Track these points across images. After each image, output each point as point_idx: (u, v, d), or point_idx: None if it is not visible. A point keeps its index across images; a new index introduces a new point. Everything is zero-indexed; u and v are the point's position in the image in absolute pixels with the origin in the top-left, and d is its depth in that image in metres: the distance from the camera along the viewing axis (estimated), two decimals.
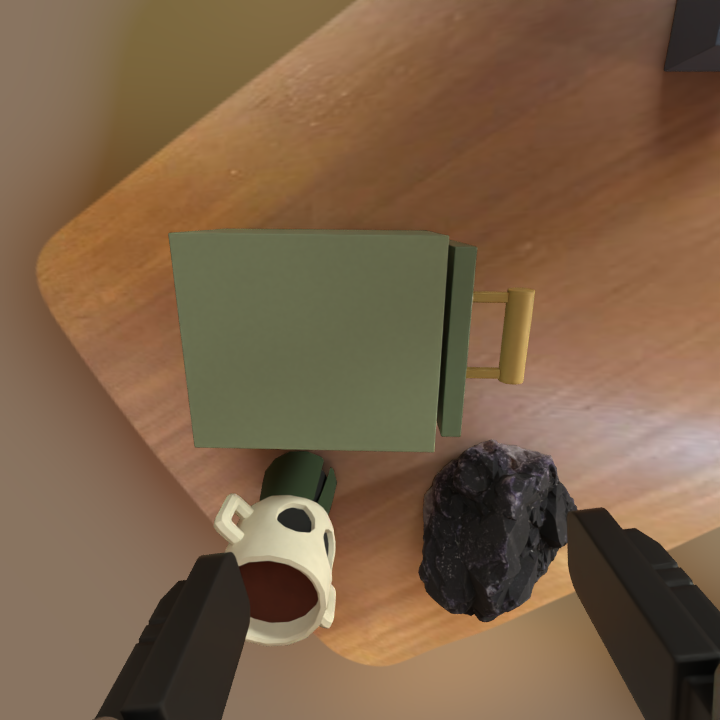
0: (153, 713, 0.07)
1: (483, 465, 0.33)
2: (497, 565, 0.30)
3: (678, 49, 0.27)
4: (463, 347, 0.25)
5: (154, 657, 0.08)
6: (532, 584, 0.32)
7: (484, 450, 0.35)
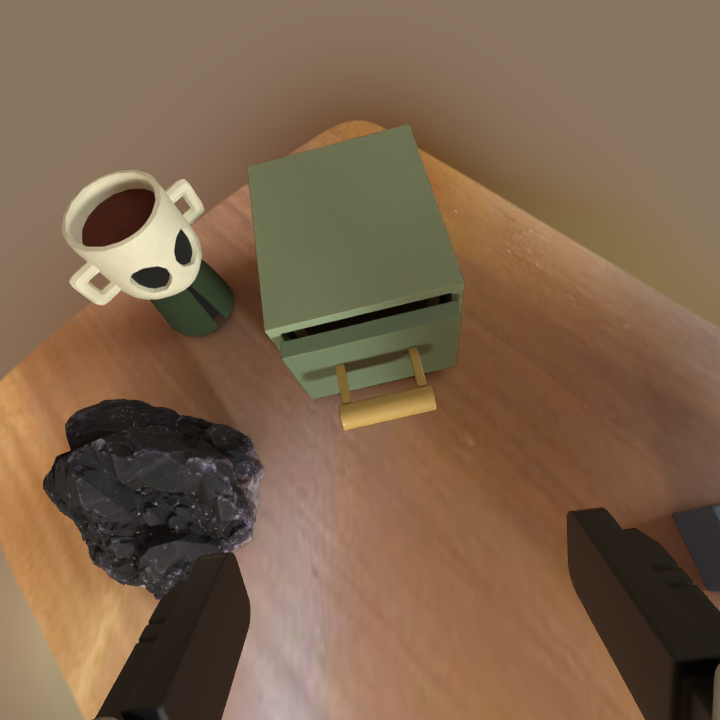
0: (153, 713, 0.07)
1: (239, 445, 0.31)
2: (129, 450, 0.27)
3: None
4: (370, 333, 0.27)
5: (154, 657, 0.08)
6: (99, 508, 0.26)
7: (252, 457, 0.32)
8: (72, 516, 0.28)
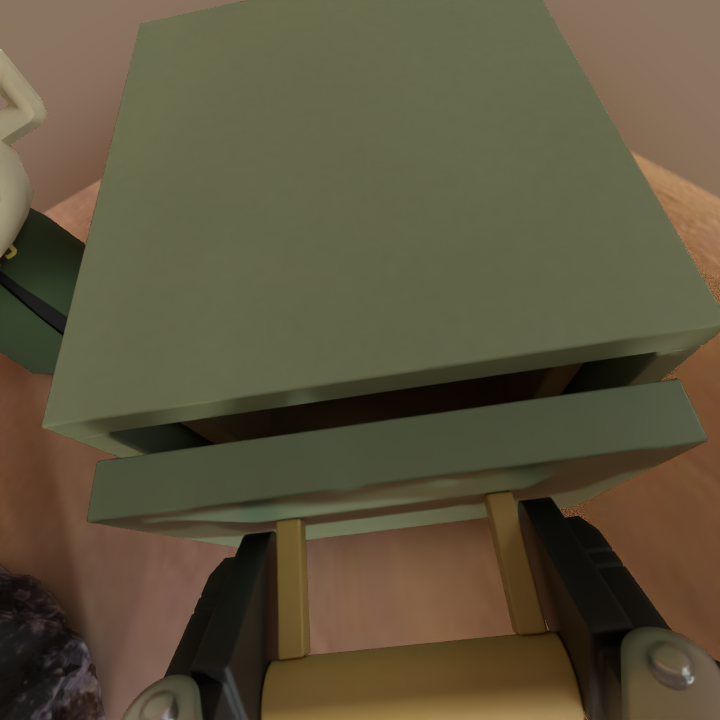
0: (220, 673, 0.07)
1: (21, 688, 0.12)
2: None
3: None
4: (382, 467, 0.08)
5: (215, 624, 0.08)
6: None
7: (73, 695, 0.13)
8: None
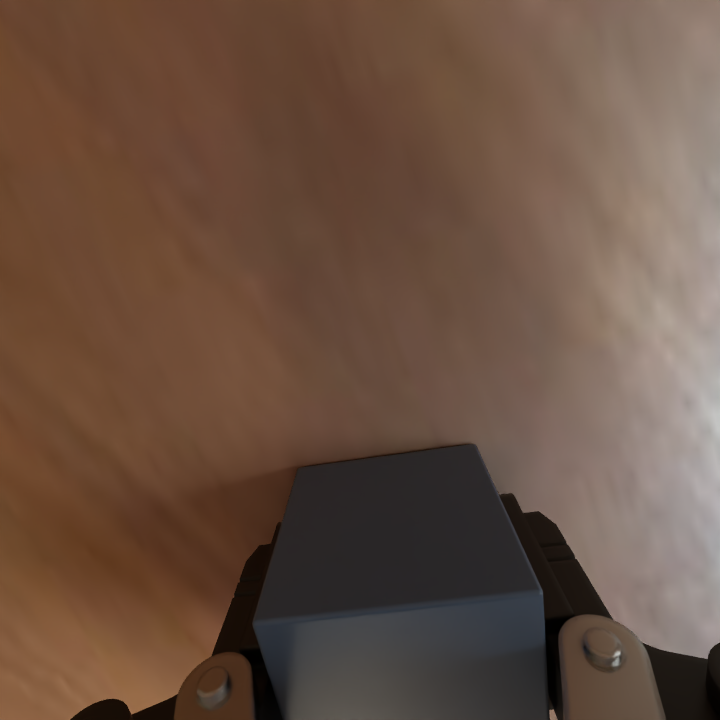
0: None
1: None
2: None
3: (326, 488, 0.10)
4: None
5: None
6: None
7: None
8: None
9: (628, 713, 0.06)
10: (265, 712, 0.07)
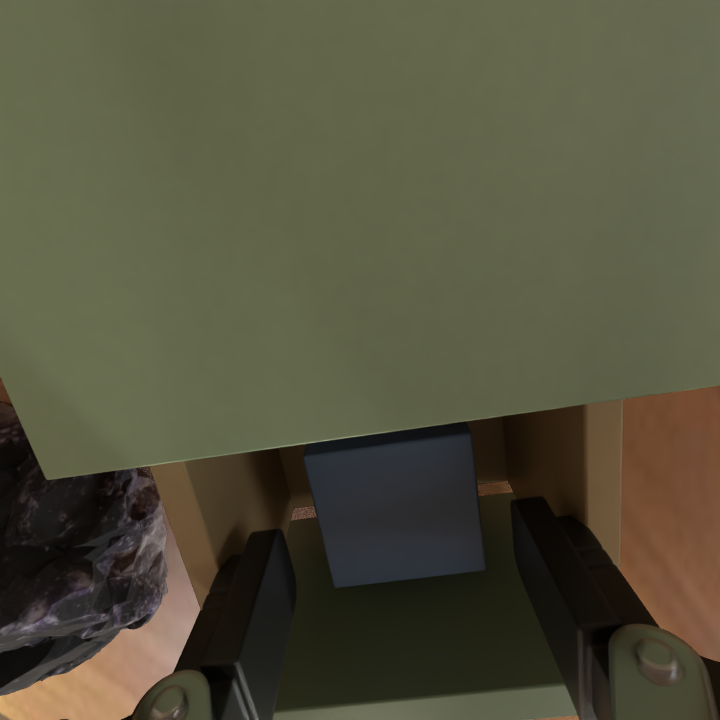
0: (230, 668, 0.08)
1: (100, 513, 0.16)
2: None
3: None
4: None
5: (223, 620, 0.08)
6: None
7: (136, 494, 0.18)
8: None
9: None
10: None
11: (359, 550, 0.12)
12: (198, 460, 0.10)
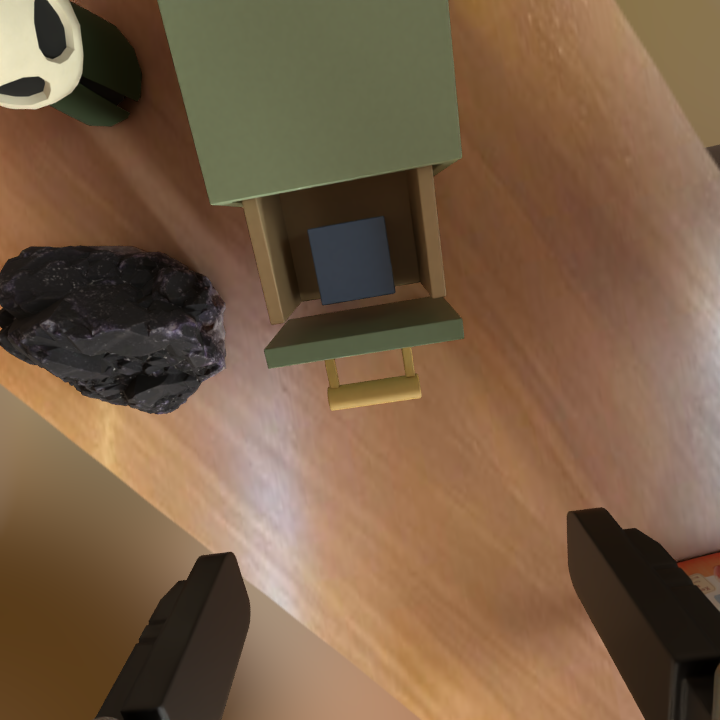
0: (153, 713, 0.07)
1: (197, 294, 0.30)
2: (84, 327, 0.25)
3: None
4: (364, 349, 0.25)
5: (154, 657, 0.08)
6: (74, 375, 0.27)
7: (212, 296, 0.31)
8: None
9: None
10: None
11: (334, 281, 0.26)
12: (262, 216, 0.24)
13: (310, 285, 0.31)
